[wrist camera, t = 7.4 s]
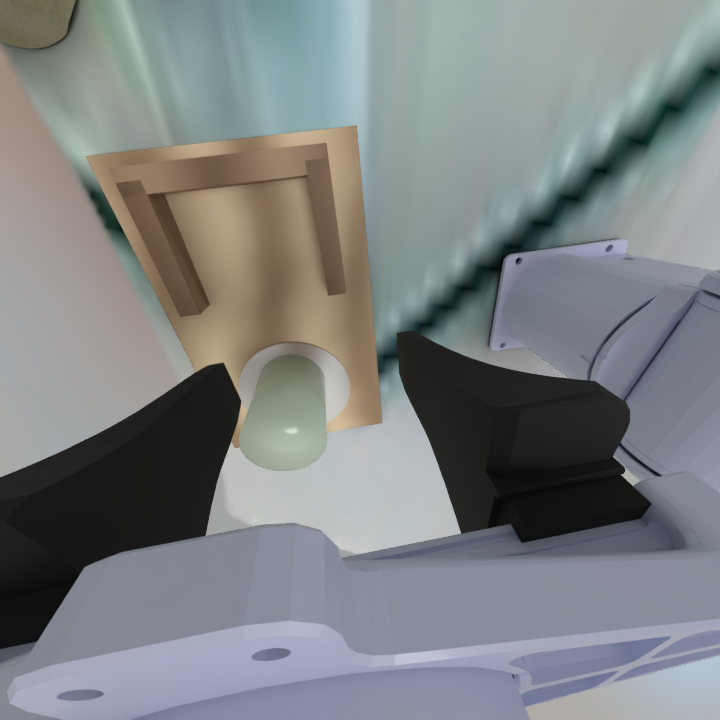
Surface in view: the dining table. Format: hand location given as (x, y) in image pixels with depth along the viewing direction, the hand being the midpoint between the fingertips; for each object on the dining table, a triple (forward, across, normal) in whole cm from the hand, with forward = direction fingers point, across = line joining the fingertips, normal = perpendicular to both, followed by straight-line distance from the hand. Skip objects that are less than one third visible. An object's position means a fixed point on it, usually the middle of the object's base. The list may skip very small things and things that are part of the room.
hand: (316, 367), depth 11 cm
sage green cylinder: (+9, +3, +8) cm, 12 cm away
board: (+10, +3, +2) cm, 11 cm away
